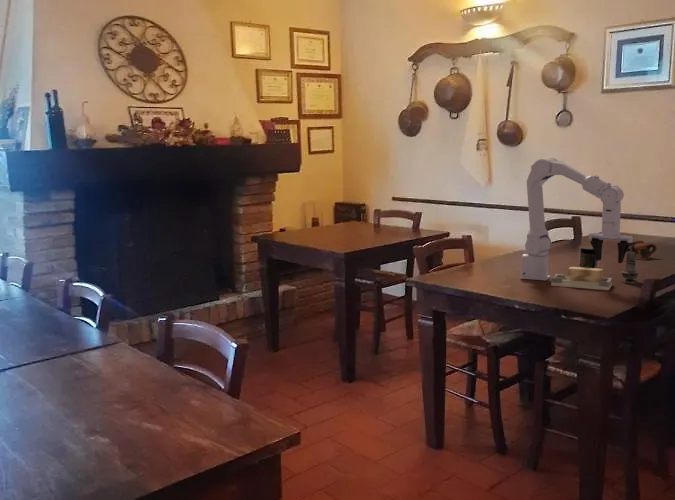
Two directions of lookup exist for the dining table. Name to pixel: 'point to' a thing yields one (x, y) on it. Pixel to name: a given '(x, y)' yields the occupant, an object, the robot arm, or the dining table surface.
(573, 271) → the tan wooden block
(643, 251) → the pottery mug
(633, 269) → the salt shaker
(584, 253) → the supplement container
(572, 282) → the cream rectangular tray
